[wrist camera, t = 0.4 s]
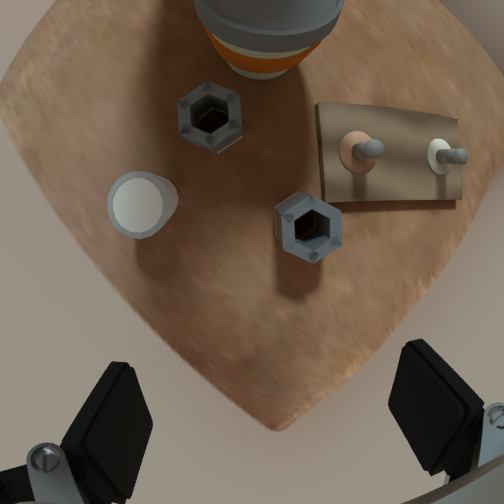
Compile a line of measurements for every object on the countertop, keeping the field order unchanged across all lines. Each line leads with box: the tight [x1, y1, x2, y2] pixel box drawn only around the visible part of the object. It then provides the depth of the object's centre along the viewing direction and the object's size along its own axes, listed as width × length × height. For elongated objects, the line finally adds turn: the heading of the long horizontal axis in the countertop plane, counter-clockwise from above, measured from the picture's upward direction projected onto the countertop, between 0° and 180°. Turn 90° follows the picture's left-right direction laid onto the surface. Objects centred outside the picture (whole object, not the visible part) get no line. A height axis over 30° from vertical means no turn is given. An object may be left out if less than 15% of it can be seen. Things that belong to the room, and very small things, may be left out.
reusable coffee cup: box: [194, 0, 345, 80], centre depth 21 cm, size 13×12×15 cm
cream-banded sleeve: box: [177, 81, 243, 154], centre depth 28 cm, size 7×6×7 cm
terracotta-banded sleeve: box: [274, 191, 342, 264], centre depth 31 cm, size 7×6×7 cm
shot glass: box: [107, 171, 178, 239], centre depth 30 cm, size 7×7×7 cm
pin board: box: [315, 103, 468, 203], centre depth 29 cm, size 12×22×6 cm, turn 94°
